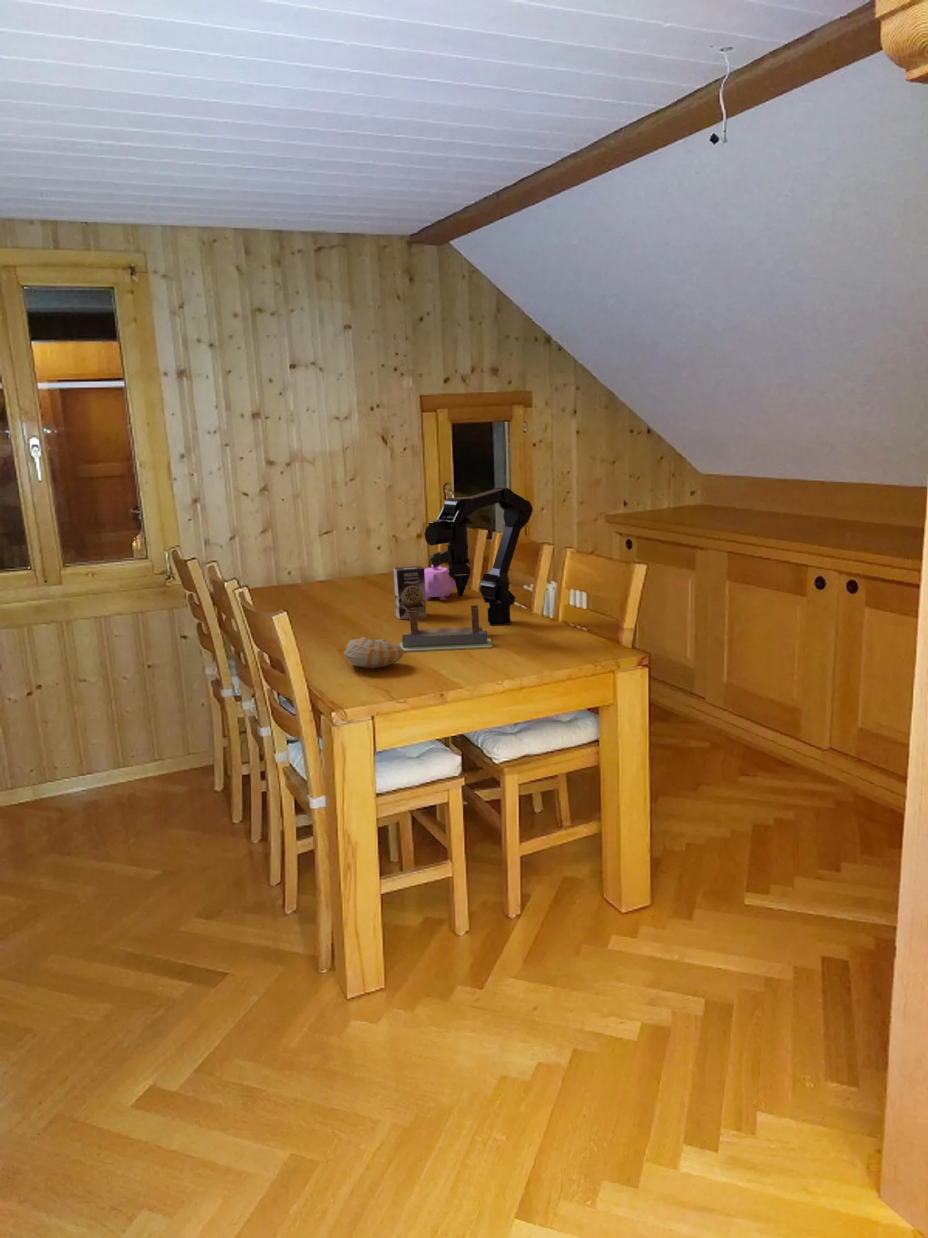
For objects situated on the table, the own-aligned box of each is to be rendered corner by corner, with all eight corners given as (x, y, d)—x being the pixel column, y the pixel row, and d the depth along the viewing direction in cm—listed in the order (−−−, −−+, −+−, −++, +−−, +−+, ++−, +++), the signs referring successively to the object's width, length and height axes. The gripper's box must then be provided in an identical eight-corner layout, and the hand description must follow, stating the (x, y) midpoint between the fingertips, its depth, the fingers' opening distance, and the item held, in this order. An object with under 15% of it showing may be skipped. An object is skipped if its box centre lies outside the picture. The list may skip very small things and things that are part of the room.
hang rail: (487, 641, 267) (486, 630, 267) (487, 643, 264) (487, 633, 264) (403, 644, 267) (402, 634, 266) (402, 647, 264) (402, 637, 263)
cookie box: (399, 620, 299) (396, 570, 296) (395, 615, 305) (392, 567, 302) (427, 617, 302) (424, 568, 298) (422, 613, 308) (420, 564, 304)
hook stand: (481, 631, 280) (480, 603, 278) (483, 638, 273) (481, 609, 271) (408, 634, 280) (407, 607, 278) (407, 641, 272) (406, 613, 270)
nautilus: (332, 661, 257) (383, 655, 263) (355, 675, 238) (410, 669, 244) (330, 632, 256) (382, 628, 262) (354, 645, 237) (409, 639, 243)
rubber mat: (490, 640, 270) (490, 638, 270) (491, 648, 262) (491, 646, 261) (400, 644, 270) (400, 642, 270) (398, 652, 261) (398, 650, 261)
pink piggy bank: (456, 603, 321) (455, 569, 318) (407, 603, 324) (405, 570, 321) (464, 592, 338) (463, 560, 335) (417, 592, 341) (415, 560, 338)
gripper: (431, 537, 283) (433, 588, 287) (430, 547, 265) (432, 601, 268) (467, 536, 283) (469, 586, 287) (469, 545, 265) (471, 599, 269)
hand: (460, 593), depth 278 cm, fingers open, 9 cm apart
